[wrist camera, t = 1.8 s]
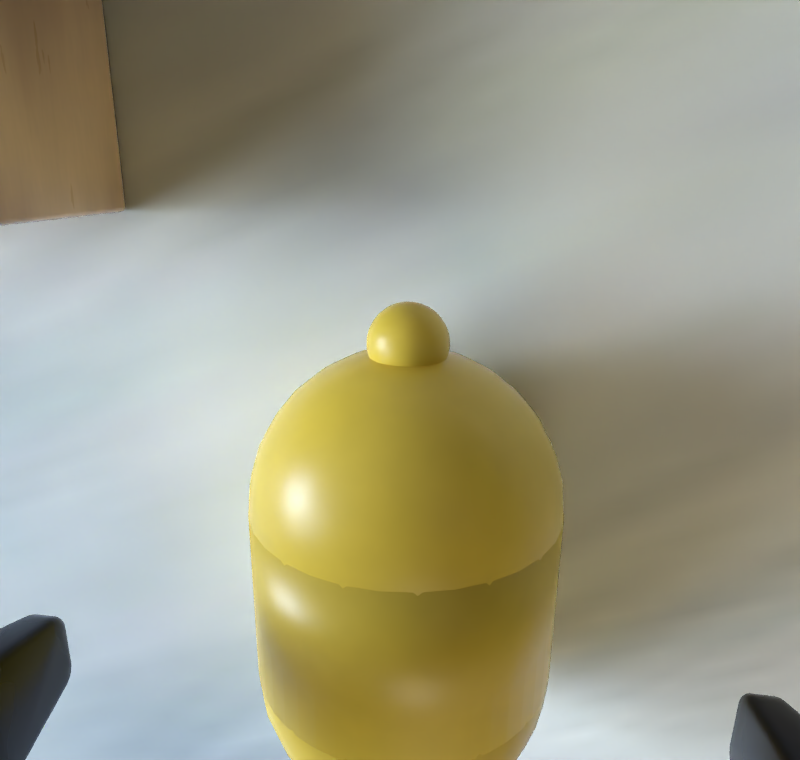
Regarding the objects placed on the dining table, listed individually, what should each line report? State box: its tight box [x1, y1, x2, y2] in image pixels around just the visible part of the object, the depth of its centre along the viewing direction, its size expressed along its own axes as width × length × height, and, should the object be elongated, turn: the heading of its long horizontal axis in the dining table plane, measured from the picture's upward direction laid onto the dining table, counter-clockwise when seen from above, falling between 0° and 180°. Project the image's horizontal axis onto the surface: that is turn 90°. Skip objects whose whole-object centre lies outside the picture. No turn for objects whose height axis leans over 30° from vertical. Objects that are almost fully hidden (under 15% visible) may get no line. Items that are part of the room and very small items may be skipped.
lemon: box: [248, 302, 564, 760], centre depth 11 cm, size 9×5×5 cm, turn 179°
